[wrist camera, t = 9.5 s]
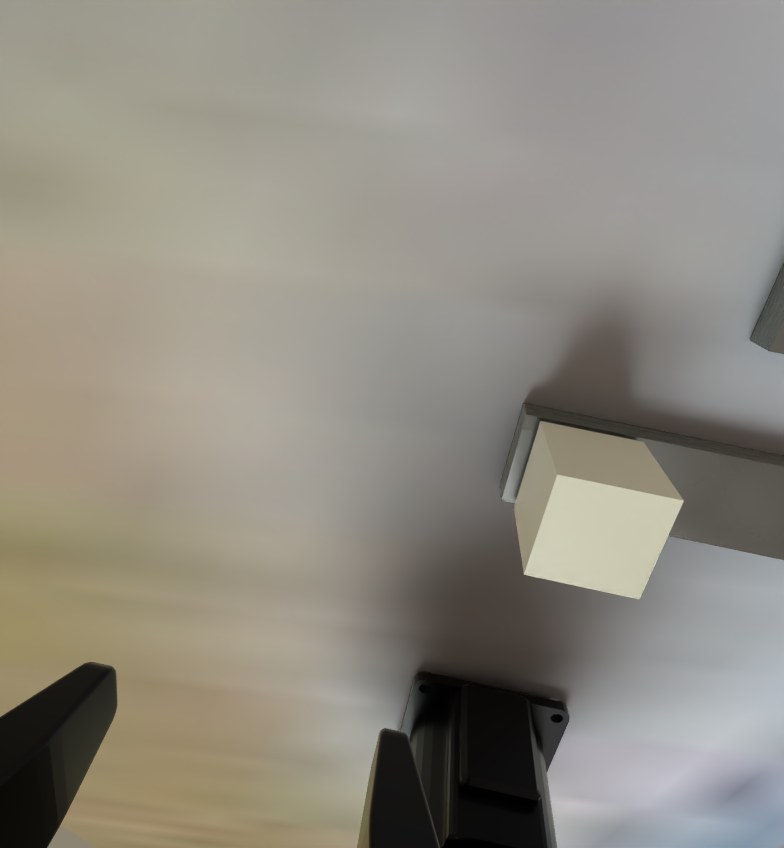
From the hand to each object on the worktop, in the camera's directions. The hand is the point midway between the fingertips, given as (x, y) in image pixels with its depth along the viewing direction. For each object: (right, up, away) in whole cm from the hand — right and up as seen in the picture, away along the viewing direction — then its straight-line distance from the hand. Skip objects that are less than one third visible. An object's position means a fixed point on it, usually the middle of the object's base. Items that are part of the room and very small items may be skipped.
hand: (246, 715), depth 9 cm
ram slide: (+8, +3, +9) cm, 13 cm away
